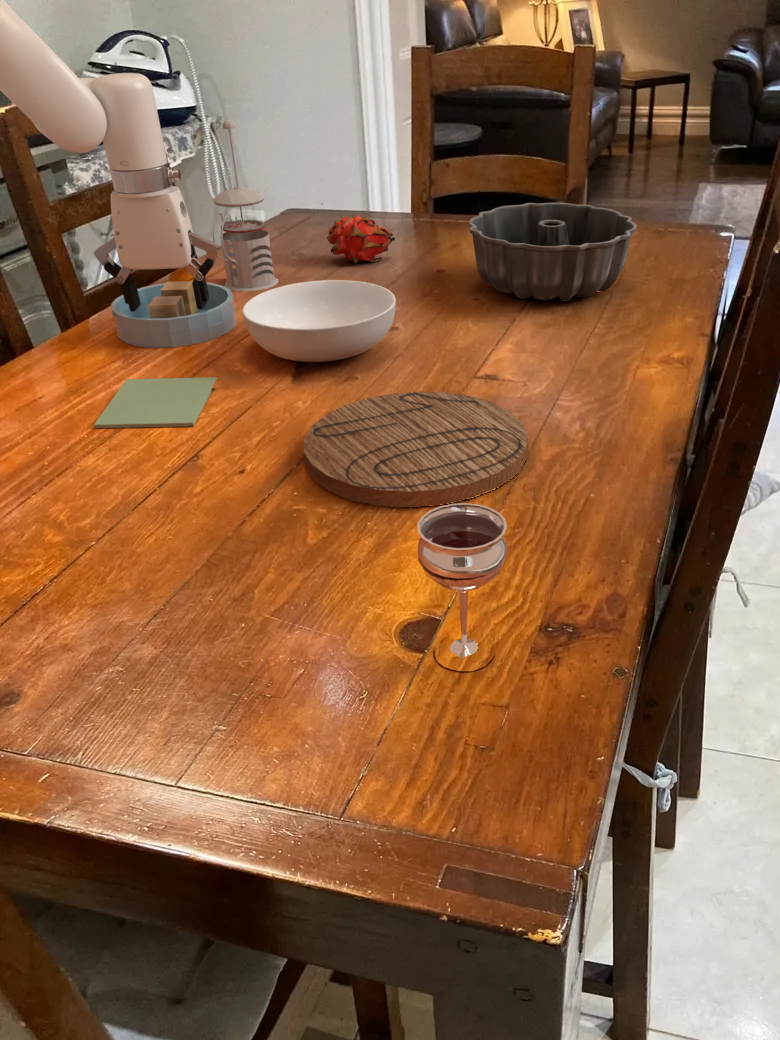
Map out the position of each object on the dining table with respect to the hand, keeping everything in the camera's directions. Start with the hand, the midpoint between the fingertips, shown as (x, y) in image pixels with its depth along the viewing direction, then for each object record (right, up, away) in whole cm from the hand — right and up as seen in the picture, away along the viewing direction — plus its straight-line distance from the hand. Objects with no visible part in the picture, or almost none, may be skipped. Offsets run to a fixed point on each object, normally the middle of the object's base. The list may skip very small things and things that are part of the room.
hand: (168, 307), depth 134 cm
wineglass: (+42, -47, -59) cm, 86 cm away
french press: (+7, +10, +22) cm, 25 cm away
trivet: (+37, -26, -29) cm, 53 cm away
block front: (0, -3, +2) cm, 4 cm away
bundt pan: (+57, +9, +18) cm, 60 cm away
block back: (0, +1, +8) cm, 8 cm away
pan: (0, -2, +5) cm, 6 cm away
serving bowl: (+23, -7, -3) cm, 24 cm away
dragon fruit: (+25, +18, +33) cm, 45 cm away
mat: (+4, -17, -17) cm, 24 cm away
